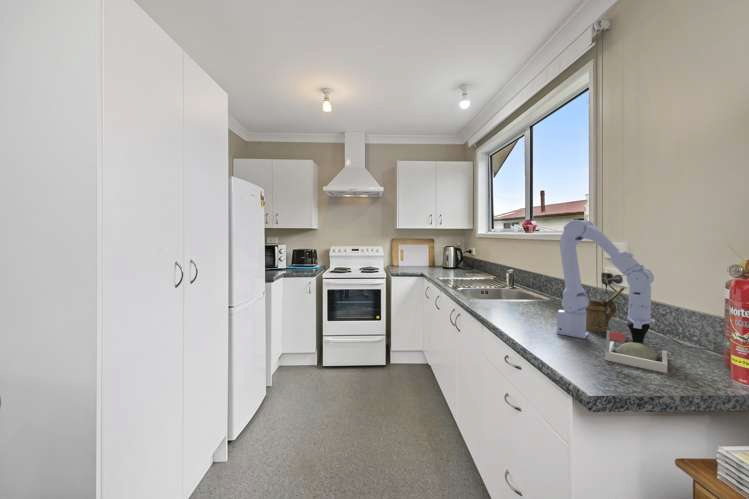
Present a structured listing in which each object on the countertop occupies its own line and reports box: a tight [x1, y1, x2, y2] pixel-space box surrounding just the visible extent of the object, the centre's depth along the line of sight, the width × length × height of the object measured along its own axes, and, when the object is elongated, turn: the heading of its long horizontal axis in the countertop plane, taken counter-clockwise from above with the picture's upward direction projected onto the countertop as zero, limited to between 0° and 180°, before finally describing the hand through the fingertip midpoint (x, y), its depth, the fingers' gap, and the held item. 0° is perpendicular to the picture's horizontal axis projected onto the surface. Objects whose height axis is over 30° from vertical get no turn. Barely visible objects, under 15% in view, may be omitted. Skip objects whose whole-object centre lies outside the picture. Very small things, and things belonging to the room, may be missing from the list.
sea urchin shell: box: [617, 341, 657, 361], centre depth 98 cm, size 9×8×8 cm
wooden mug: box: [586, 287, 625, 333], centre depth 128 cm, size 9×14×18 cm, turn 52°
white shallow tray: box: [604, 330, 668, 374], centre depth 97 cm, size 14×14×9 cm
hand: (637, 345), depth 106 cm, fingers closed
